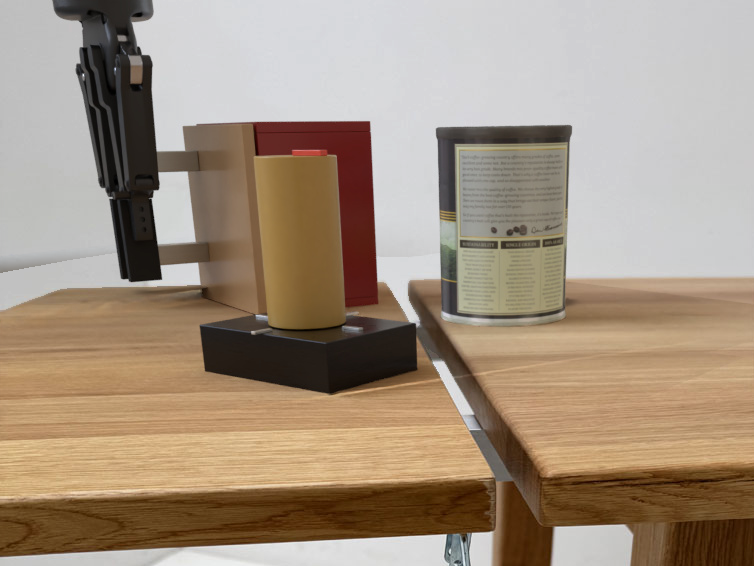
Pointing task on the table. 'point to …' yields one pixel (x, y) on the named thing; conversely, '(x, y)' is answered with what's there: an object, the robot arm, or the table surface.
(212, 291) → the door
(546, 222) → the coffee can
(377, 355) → the dark brown base block
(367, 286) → the dark red cabinet
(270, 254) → the knob
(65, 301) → the table surface
